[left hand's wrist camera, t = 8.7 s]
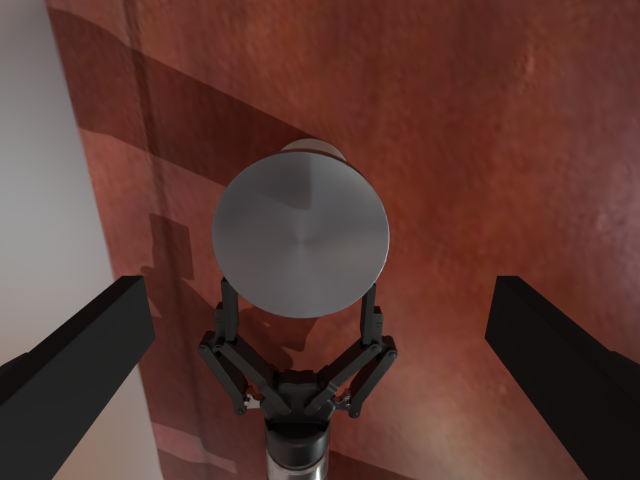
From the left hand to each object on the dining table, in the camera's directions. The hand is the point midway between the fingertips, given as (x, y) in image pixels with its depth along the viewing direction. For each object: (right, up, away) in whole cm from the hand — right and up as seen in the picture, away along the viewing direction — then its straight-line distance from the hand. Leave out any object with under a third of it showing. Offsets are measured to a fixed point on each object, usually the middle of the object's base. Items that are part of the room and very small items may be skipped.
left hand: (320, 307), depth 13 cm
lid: (-1, +3, +6) cm, 7 cm away
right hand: (-2, -1, +20) cm, 20 cm away
